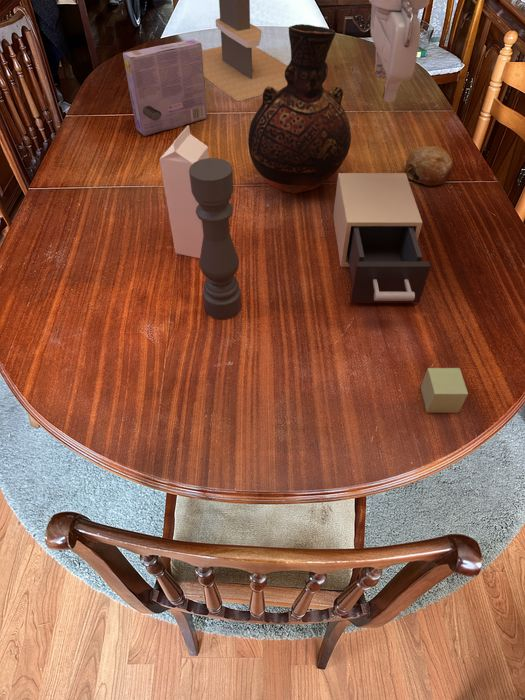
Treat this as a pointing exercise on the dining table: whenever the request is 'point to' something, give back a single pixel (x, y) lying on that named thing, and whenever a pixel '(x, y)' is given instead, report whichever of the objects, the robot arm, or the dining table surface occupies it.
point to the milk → (183, 192)
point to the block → (443, 390)
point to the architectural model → (241, 56)
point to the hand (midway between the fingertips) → (384, 87)
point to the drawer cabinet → (372, 205)
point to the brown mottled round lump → (429, 165)
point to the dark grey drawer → (386, 265)
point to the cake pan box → (166, 86)
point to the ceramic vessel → (301, 119)
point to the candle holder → (216, 236)
